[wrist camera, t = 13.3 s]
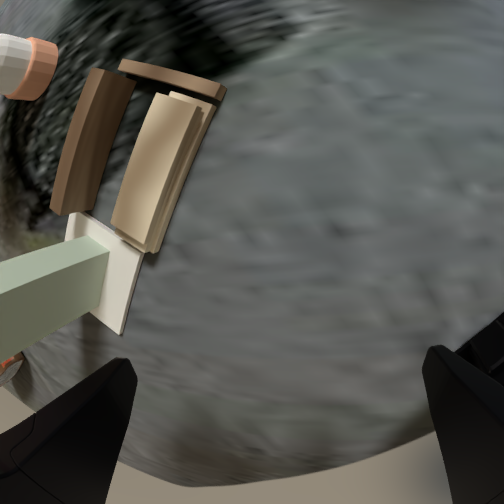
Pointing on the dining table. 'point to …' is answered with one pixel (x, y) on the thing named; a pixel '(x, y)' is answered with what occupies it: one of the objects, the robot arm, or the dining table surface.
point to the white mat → (110, 268)
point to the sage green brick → (48, 291)
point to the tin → (10, 367)
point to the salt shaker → (26, 66)
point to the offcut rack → (145, 151)
